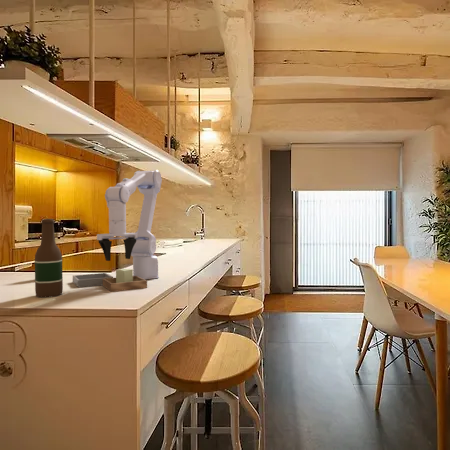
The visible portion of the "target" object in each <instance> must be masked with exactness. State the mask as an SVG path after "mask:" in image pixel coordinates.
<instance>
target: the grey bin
mask: <svg viewBox="0 0 450 450" xmlns="http://www.w3.org/2000/svg"><path fill="white" fill-rule="evenodd" d="M106 278H114V276H112V275H110V274H108V273H107V272H100V273H89V274H88V273H87V274H76V275H72V283H73V284H74V285H75V286H76V287H77V286H78V287H77V288H85V286H87V287H94V286H103V279H106Z"/></svg>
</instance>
